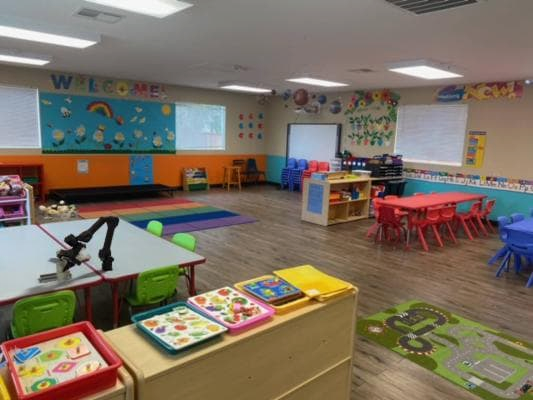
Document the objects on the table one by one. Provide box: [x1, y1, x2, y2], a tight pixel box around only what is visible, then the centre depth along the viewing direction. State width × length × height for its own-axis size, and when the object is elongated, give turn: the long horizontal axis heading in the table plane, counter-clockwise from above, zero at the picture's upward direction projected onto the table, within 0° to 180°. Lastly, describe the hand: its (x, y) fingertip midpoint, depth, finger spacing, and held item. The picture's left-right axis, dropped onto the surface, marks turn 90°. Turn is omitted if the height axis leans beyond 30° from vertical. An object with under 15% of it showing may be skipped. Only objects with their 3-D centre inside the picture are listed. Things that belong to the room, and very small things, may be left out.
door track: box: [39, 269, 73, 284], centre depth 265 cm, size 18×10×2 cm, turn 126°
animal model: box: [55, 246, 92, 262], centre depth 301 cm, size 13×26×16 cm
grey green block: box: [55, 260, 71, 283], centre depth 254 cm, size 6×4×12 cm, turn 151°
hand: (60, 271), depth 252 cm, fingers closed on grey green block, 4 cm apart
